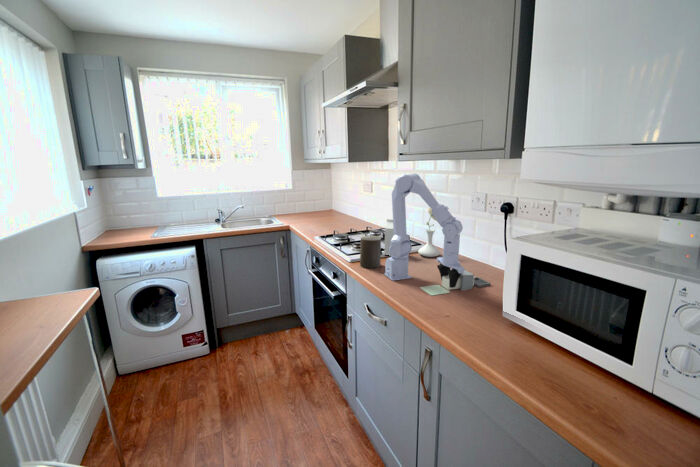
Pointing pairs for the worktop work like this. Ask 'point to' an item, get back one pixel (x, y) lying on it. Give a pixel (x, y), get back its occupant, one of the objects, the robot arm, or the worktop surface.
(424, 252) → the flower in vase
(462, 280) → the tunnel
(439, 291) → the pad
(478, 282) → the tray
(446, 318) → the worktop surface
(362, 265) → the pillar candle
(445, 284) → the long ivory beam
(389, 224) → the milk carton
